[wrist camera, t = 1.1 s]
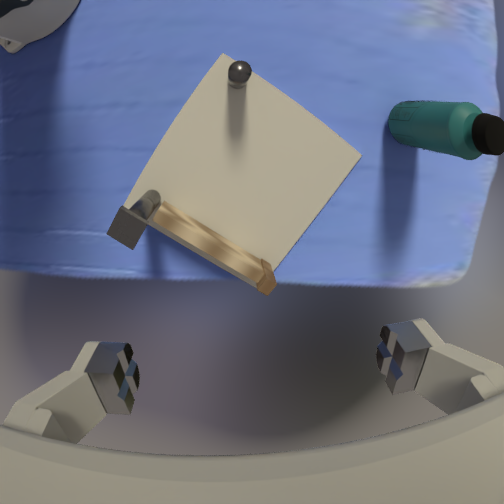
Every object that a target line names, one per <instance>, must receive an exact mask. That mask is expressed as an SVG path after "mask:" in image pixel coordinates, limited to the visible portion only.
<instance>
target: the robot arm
mask: <svg viewBox="0 0 504 504" xmlns="http://www.w3.org/2000/svg"><path fill="white" fill-rule="evenodd" d="M79 1H80V0H0V44H1V45H2V46H3V47H4V48H5V49H6V50H7V51H8V52H10V53H16V52H17V51H19V50H20V49H21V48H23V47H24V46H25V45H26V44H28V43H30V42H33V41H36V40H39V39H41V38H43V37H45V36H47V35H49V34H50V33H52V32H53V31H55V30H56V29H57V28H58V27H60V26H61V25H62V24H63V23H64V22H65V21H66V20H67V19H68V17H69V16H70V15H71V14H72V12H73V11H74V9H75V8H76V6H77V5H78V3H79ZM10 41H11V43H10ZM380 337H381V338H382V340H383V341H382V342H381V343H380V344H379V345H378V346H377V352H376V361H377V366H378V368H379V370H380V372H381V373H382V374H384V375H386V376H387V377H386V381H385V382H386V384H387V386H388V388H389V389H390V391H391V393H392V395H394V394H399V393H404V392H408V391H412V390H415V392H416V393H418V394H419V395H421V396H422V397H423V398H425V399H426V400H428V401H429V402H431V403H432V404H434V405H435V406H437V407H438V408H439V409H441V410H442V411H444V412H445V413H447V414H448V415H446V416H443V417H440V418H438V419H435V420H432V421H428V422H425V423H422V424H419V425H415V426H412V427H409V428H405V429H401V430H398V431H394V432H390V433H386V434H382V435H378V436H374V437H370V438H366V439H361V440H355V441H350V442H345V443H340V444H334V445H328V446H322V447H316V448H309V449H301V450H294V451H285V452H274V453H263V454H247V455H219V456H194V455H166V454H151V453H139V452H128V451H120V450H112V449H105V448H98V447H91V446H86V445H80V444H77V443H78V442H79V441H80V440H81V439H82V438H83V437H84V436H85V435H86V434H87V433H88V432H89V431H90V430H92V428H94V427H95V426H96V425H97V424H98V423H99V422H100V421H101V420H102V419H103V418H104V417H105V416H106V415H107V414H106V413H109V414H125V415H130V414H131V411H132V407H133V404H134V401H135V400H134V397H133V393H135V392H136V391H137V390H138V387H139V380H140V377H139V376H140V374H139V369H138V365H137V363H136V362H135V361H133V360H132V356H133V350H132V347H131V345H130V344H129V343H118V342H94V341H88V342H86V343H85V345H84V346H83V348H82V350H81V352H80V353H79V355H78V357H77V359H76V361H75V362H74V364H73V366H72V368H71V369H70V371H65V372H63V373H61V374H60V375H58V376H56V377H55V378H53V379H52V380H50V381H48V382H47V383H45V384H44V385H42V386H41V387H39V388H37V389H36V390H34V391H32V392H31V393H29V394H27V395H26V396H24V397H23V398H21V399H19V400H18V401H16V402H15V404H14V405H13V407H12V409H11V410H10V412H9V414H8V416H7V417H6V419H5V421H4V423H3V424H2V425H0V504H504V367H503V366H502V365H499V364H497V363H495V362H492V361H490V360H488V359H485V358H483V357H480V356H478V355H476V354H473V353H471V352H468V351H466V350H464V349H461V348H459V347H457V346H454V345H452V344H449V343H448V344H445V343H444V342H443V341H442V339H441V338H440V337H439V336H438V335H437V333H436V332H435V331H434V330H433V329H432V328H431V326H430V325H429V324H428V323H427V322H426V321H425V320H424V319H422V318H420V319H415V320H410V321H408V322H402V323H397V324H389V325H383V327H382V329H381V332H380Z"/></svg>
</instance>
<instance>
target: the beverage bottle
mask: <svg viewBox="0 0 504 504" xmlns="http://www.w3.org/2000/svg"><path fill="white" fill-rule="evenodd" d="M422 101H423V100H422ZM428 101H429V100H428ZM431 101H432V100H431ZM434 101H435V100H434ZM388 124H389V129H390V132H391V134H392V135H393V137H394V138H395V139H396V140H397V141H399V142H400V144H401V143H402V144H404V145H409V146H410V147H411V146H413V147H418V149H419V148H422V149H424V150H425V149H426V150H428V151H430V150H431V151H435V152H439V153H440V152H441V153H440V154H442V153H443V154H449V155H453V156H457V157H461V158H463V159H466V160H474V159H476V158H478V157H479V156H481V155H482V153H483V154H487V155H501V154H502V153H503V152H504V121H503V120H502V119H501V118H499V117H498V116H494V115H490V114H487V113H482V111H481V110H480V109H479V108H478V107H477V106H476V105H474V104H472V103H469V102H462V103H460V102H433V101H432V102H424V101H423V102H419V101H418V102H415V101H405V102H401V103H399V104H396V105H395V106H394V108H393V109H392V110H391V112H390V115H389V119H388ZM409 146H408V147H409ZM422 149H421V150H422Z"/></svg>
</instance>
